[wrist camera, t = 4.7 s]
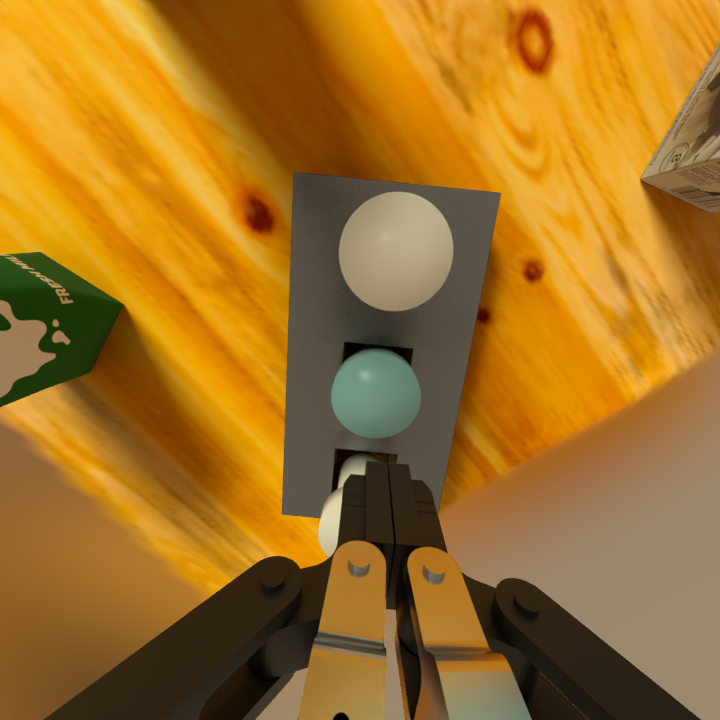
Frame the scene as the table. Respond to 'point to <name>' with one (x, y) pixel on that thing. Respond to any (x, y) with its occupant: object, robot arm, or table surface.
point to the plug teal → (375, 392)
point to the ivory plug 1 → (339, 502)
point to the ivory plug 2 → (396, 251)
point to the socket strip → (374, 336)
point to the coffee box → (693, 146)
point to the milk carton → (47, 324)
